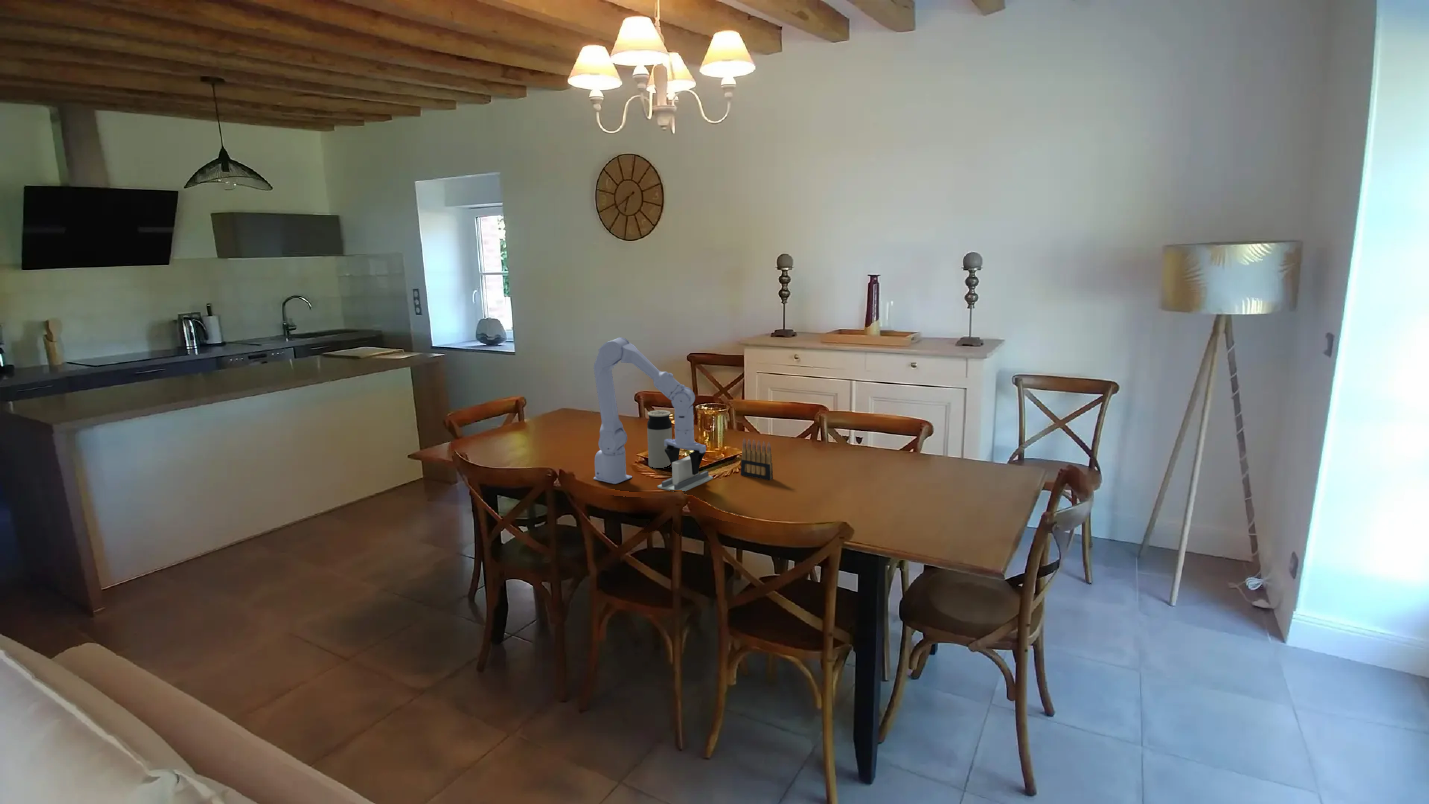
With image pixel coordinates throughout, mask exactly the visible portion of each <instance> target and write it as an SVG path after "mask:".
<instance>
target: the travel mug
mask: <svg viewBox="0 0 1429 804" xmlns="http://www.w3.org/2000/svg"><path fill="white" fill-rule="evenodd" d="M671 414H672V413H671V411H669V410H665V409H664V410H661V409H659V410H658V409H657V410H650V411H648V412H647V415H648V420H647V424H646V427H647V453H648V455H647V457H648V466H649V467H650V468H652V467H653V468H652V469H656V468H663V469H665V468H664V467H667V466H669V465H670V464H671V463H670V460H669V458H668V456H667V454H666V452H665V449H666V448H667V446H664V440H666V439H673V430H672V429H673V428H672V427H673V426H672V424H673V423H672V419H670V416H671Z"/></svg>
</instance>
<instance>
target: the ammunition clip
mask: <svg viewBox="0 0 1429 804" xmlns="http://www.w3.org/2000/svg"><path fill="white" fill-rule="evenodd" d="M756 443H757V444H756ZM761 445H762V446H761ZM741 449H742V450H741V461H740V476H743V475H744V477H749V478H750V477H751V478H753V479H754V478H755V479H760V480H765V481H772V480H773V478H774V474H773V471H774V470H773V462H772V447H771V443H770V441H768V442H767V445H766V442H765V440H763V441H762V444H761V441H760V440H757V442H756V440H755V439H752V443H751V439H750V438H748V440H746V438H745V437H743V440H742V447H741Z"/></svg>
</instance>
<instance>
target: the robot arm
mask: <svg viewBox="0 0 1429 804" xmlns="http://www.w3.org/2000/svg"><path fill="white" fill-rule="evenodd" d="M619 362H620V363H625V364H632V365H633V366H635V367H637V369H639V370H640V371H641V372H643V374H645V375H647V377H649V378H650V379H651V380H652V383H653V387H654V388H656V389H657V390H658V391H659V392H660V393H662V394H663V396H664V397H666V398H667V399H668V400H670V401H671V406H672V407H673V408H674V438H672V439H666V440H664V446H667V448H666V449H665V452H666V454H667V456H668V458H669V460H670V463H671V466H670V467H672V462H675V461H677V460H680V451H681V450H682V449H683V450H689V451H692V452H689V453H688V456H690V459H691V464H692V474H693V475H695V474H698V472H699V473H700V471H699V470H700V467H701V463H702V460H703V459H704V457H705V455H706V452H707V445H705V444H701V443H699V442H696V441H695V430H694V429H695V427H694V425H695V423H694V405H693V404H694V402H695V400H696V395H695V392H694V391H693V389H692V388H690V387H687V386H686V385H685V384H681V383H680V382H679V381H678V380H677V378H675V377H674V374H673V373H672V372H668V371H661V370H660V369H658V368H657V367H656V366H655V365H654V364H653V363H652V362H651V360H649V358H647V357H646V356H645V354H643V353H642V352H641V351H640V350H638V348H637V347H636V345H634V344H633V343H631V342H630V341H629V340H628V339H626V338H624V337H621V336H620V337H617V338H615V339H612V340H609V341H606V342H604V343H603V344H602V345H601V347H599V349H598V354H597V356H596V359H595V362H594V363H593V372H594V373H593V374H594V379H595V385H596V392H597V393H596V394H597V399H598V400H597V401H598V405H599V406H598V407H599V412H600V419H601V425H600V429H599V439H598V442H597V443H598V448H599V450H598V451H597V452H596V454H595V455H594V474H595V475H594V477H593V480H595V481H600V482H604V483H608V484H613V485H617V484H619V483H622V482H624V481H627V480H629V479H632V478H633V476H632V475H629V474H627V465H626V463H627V462H626V449H625V445H626V443H627V441H628V435H627V432H626V431H625V429H624V426H623V423H622V421H621V420H620V417H619V411H618V404H617V398H616V390H615V385H614V376H613V371H612V370H613V369H614V368H615V366H617V364H618V363H619Z"/></svg>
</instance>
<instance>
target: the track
mask: <svg viewBox="0 0 1429 804" xmlns="http://www.w3.org/2000/svg"><path fill="white" fill-rule="evenodd" d="M713 479H714V477H713V476H711V475H709V470H704V471H702V472H699V474H698V475H695V476H693V477H691V478H688V479H686V480H684V481H682V482H679V483H677V484H675V485H673V482H672V477H670V478H667V479H666V480H663V481H661V484H659V485H658V484H657V489H662V490H664V491H665V490H666V491H670V490H682V491H685V492H686V491H689V490H691V489H693V488H695V487H698V486H700V485H703V484H705V483H706V482H709V481H710V480H713Z"/></svg>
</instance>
